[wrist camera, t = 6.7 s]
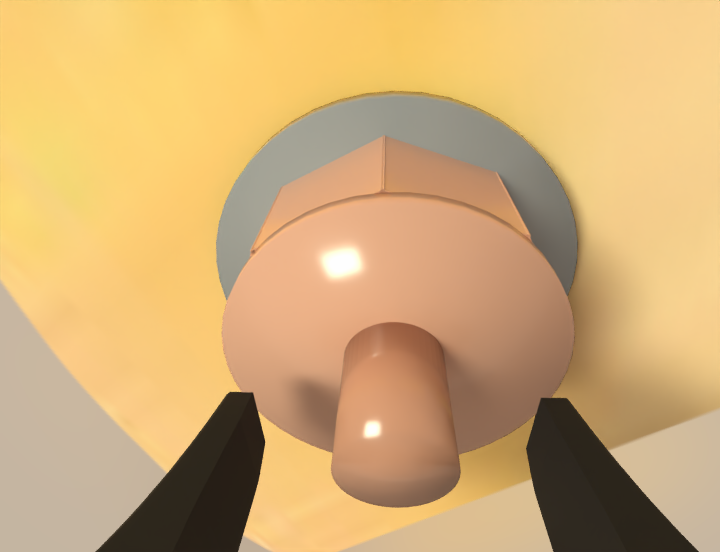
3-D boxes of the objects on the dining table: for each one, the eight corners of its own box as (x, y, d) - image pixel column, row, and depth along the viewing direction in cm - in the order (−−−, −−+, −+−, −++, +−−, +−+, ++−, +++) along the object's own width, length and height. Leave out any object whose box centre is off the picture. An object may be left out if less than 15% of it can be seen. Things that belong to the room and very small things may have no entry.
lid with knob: (585, 191, 14) (752, 383, 8) (459, 386, 20) (495, 597, 13) (291, 94, 13) (194, 224, 7) (241, 329, 18) (161, 531, 12)
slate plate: (651, 181, 15) (663, 191, 14) (462, 415, 22) (465, 429, 21) (269, 19, 13) (263, 22, 12) (197, 335, 20) (191, 348, 19)
